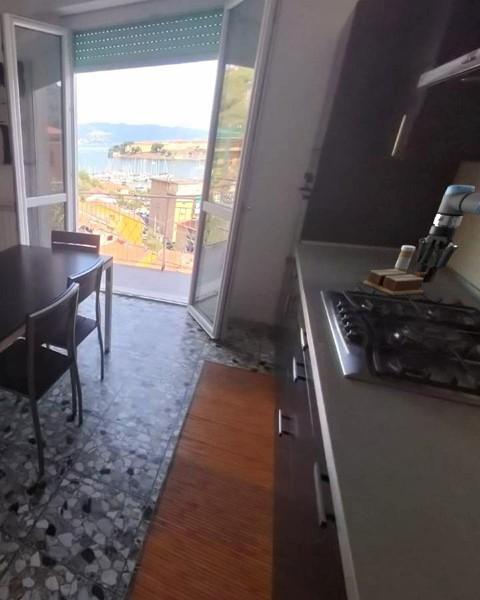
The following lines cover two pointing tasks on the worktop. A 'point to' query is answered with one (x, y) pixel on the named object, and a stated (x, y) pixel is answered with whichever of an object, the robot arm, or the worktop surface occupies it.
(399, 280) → the cake
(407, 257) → the sprinkles bottle
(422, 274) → the knife
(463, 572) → the worktop surface
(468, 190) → the robot arm
